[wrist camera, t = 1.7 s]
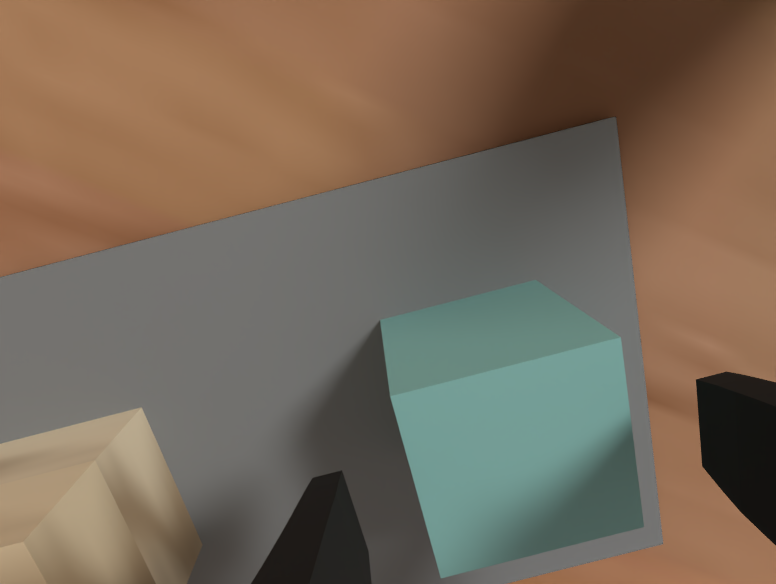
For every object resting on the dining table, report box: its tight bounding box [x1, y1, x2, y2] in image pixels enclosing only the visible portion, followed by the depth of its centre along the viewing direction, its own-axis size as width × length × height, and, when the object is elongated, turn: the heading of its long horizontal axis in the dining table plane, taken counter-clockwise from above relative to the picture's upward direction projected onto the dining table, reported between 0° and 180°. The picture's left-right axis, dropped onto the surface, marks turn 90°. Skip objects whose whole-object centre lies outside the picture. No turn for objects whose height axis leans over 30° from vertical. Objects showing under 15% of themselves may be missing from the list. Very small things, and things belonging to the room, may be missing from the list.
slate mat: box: [0, 117, 663, 584], centre depth 14 cm, size 14×23×1 cm, turn 104°
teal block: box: [380, 280, 644, 578], centre depth 12 cm, size 4×4×4 cm
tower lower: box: [0, 407, 203, 584], centre depth 13 cm, size 5×5×2 cm
